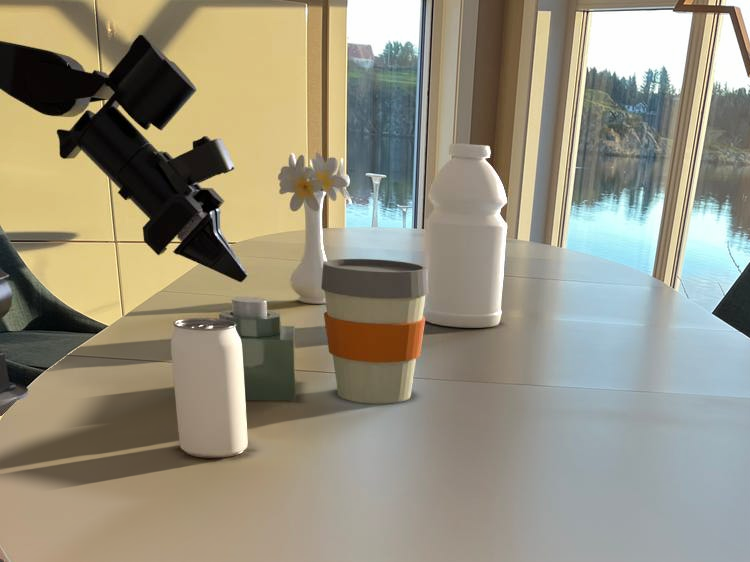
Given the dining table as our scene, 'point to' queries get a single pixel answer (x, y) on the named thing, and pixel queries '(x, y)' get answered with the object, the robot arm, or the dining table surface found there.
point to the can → (209, 387)
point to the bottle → (465, 242)
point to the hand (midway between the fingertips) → (244, 279)
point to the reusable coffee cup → (374, 326)
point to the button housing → (266, 356)
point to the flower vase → (312, 217)
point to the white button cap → (249, 307)
